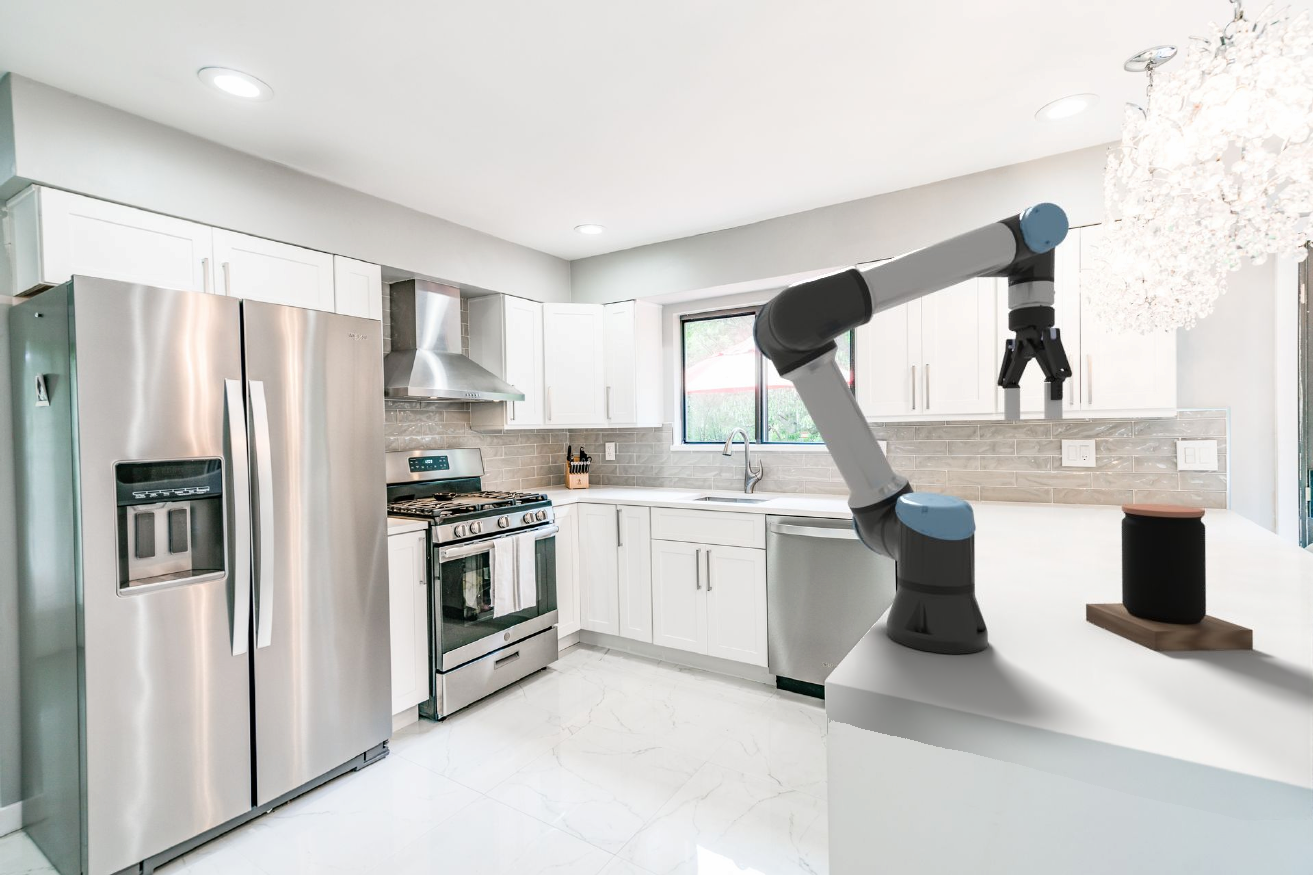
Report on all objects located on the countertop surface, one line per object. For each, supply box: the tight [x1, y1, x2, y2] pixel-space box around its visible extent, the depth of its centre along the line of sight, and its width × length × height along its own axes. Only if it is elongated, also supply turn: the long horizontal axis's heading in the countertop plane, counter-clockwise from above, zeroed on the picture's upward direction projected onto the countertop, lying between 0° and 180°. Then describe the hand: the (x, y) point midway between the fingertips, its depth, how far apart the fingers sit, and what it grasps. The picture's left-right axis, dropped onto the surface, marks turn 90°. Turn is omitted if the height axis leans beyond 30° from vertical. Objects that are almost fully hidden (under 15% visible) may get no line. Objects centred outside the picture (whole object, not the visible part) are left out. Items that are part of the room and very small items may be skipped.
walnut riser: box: [1085, 602, 1254, 652], centre depth 101 cm, size 15×15×3 cm
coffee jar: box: [1121, 503, 1207, 625], centre depth 101 cm, size 11×11×18 cm
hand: (1031, 420), depth 116 cm, fingers open, 13 cm apart
